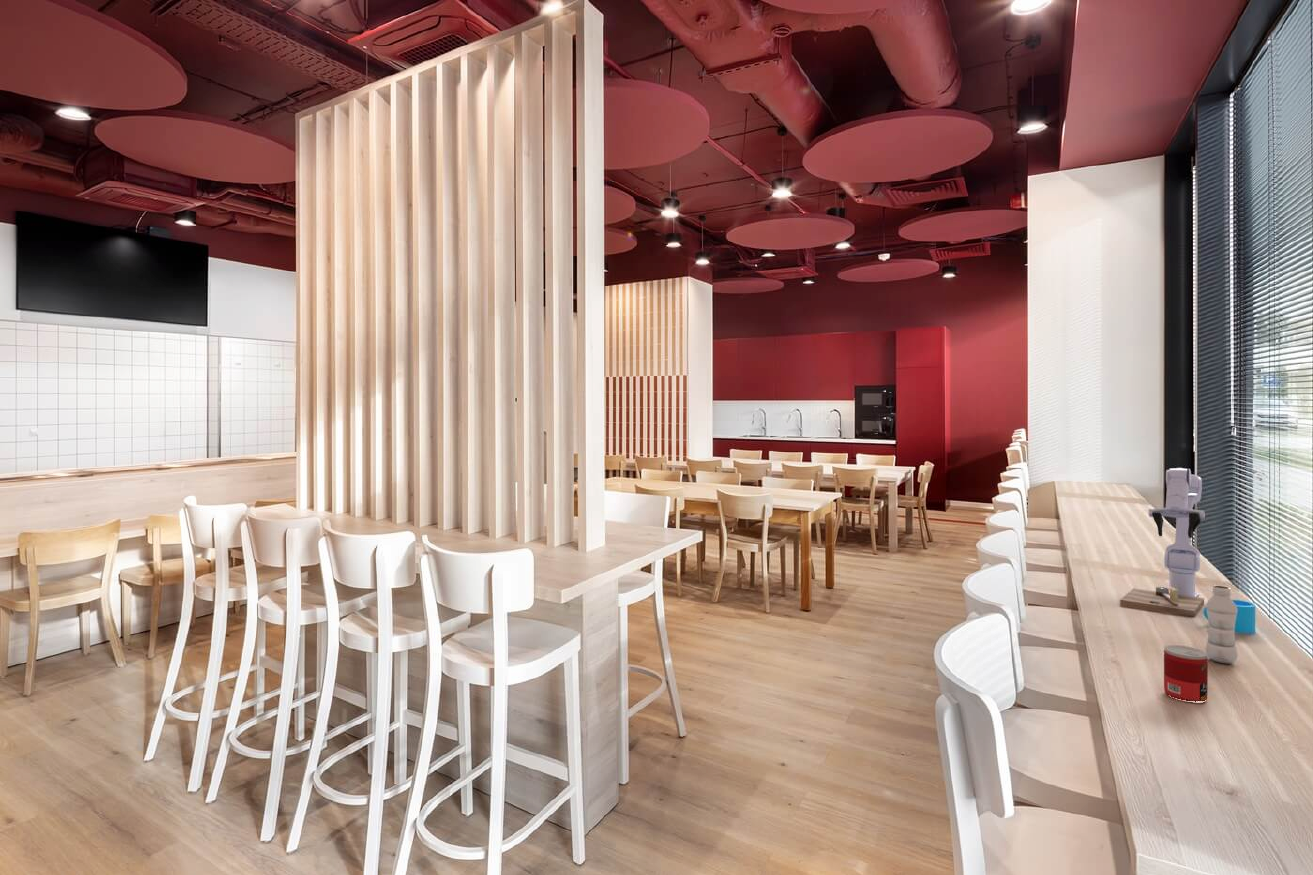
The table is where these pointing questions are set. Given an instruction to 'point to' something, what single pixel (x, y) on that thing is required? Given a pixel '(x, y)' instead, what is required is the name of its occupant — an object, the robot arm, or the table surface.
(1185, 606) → the hole plate
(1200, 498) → the robot arm
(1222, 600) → the plastic bottle
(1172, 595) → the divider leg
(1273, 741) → the table surface
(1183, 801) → the table surface
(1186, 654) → the canned food
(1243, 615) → the mug
